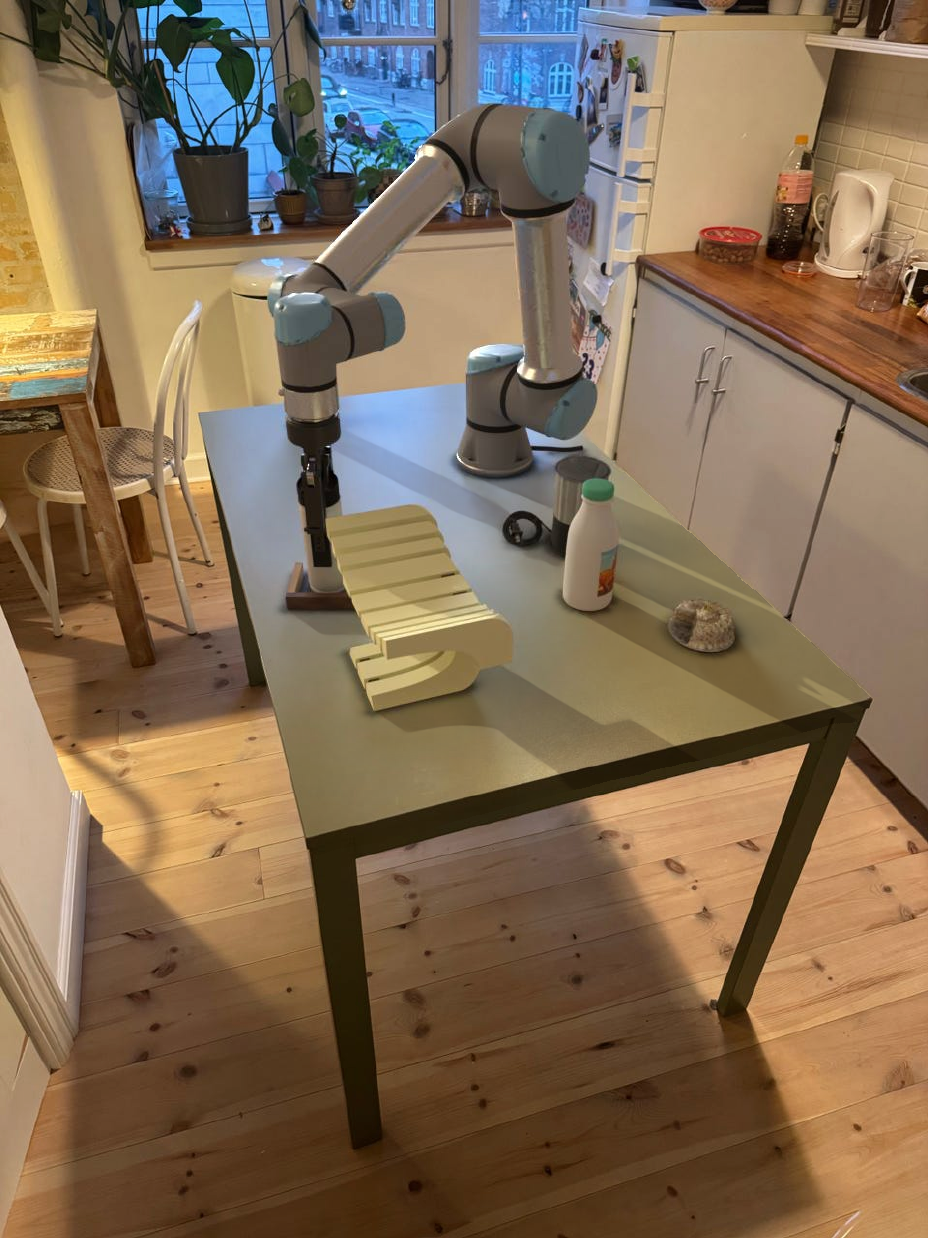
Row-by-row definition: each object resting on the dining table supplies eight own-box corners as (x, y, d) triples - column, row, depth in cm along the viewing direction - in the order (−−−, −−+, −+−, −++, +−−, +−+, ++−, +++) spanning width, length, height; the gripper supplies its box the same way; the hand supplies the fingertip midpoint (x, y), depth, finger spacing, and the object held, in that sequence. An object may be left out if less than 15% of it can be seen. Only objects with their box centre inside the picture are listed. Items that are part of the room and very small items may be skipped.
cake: (709, 610, 137) (718, 581, 134) (747, 648, 129) (757, 618, 126) (654, 619, 134) (662, 589, 131) (690, 658, 126) (699, 628, 123)
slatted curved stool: (509, 723, 115) (514, 612, 105) (392, 753, 111) (385, 640, 100) (435, 601, 138) (433, 500, 127) (335, 621, 133) (325, 518, 123)
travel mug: (358, 581, 142) (347, 471, 129) (337, 604, 137) (323, 493, 125) (325, 571, 144) (311, 463, 131) (303, 594, 139) (286, 484, 127)
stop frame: (372, 574, 144) (371, 562, 143) (367, 609, 136) (366, 597, 134) (296, 574, 144) (295, 562, 143) (287, 609, 136) (285, 597, 134)
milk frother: (612, 553, 150) (622, 474, 141) (529, 572, 145) (534, 492, 136) (572, 515, 160) (579, 440, 152) (493, 532, 155) (496, 455, 147)
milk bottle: (579, 617, 134) (591, 501, 123) (552, 592, 140) (561, 478, 128) (621, 604, 137) (636, 489, 126) (593, 580, 143) (605, 468, 131)
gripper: (295, 385, 130) (310, 521, 144) (273, 442, 114) (291, 588, 128) (346, 385, 130) (356, 521, 144) (330, 442, 114) (343, 589, 128)
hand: (325, 552), depth 136 cm, fingers closed on travel mug, 7 cm apart
